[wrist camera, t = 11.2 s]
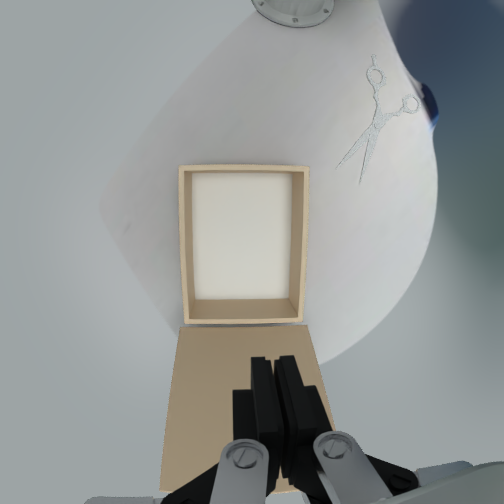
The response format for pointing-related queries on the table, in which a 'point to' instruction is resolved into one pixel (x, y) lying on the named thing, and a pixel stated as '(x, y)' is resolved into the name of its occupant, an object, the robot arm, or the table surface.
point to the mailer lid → (222, 392)
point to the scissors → (377, 118)
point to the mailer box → (243, 242)
